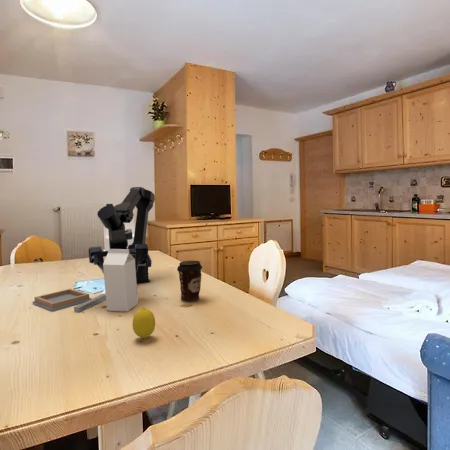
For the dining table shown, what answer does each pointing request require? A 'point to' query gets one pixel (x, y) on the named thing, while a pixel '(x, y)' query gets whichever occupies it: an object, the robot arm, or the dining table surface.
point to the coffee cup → (190, 280)
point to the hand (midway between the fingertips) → (121, 274)
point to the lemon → (143, 323)
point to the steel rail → (90, 303)
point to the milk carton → (120, 280)
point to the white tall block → (127, 226)
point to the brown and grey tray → (61, 299)
